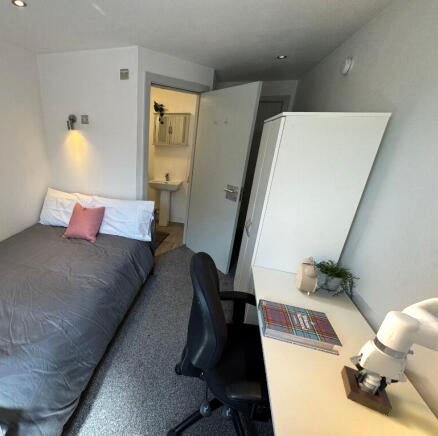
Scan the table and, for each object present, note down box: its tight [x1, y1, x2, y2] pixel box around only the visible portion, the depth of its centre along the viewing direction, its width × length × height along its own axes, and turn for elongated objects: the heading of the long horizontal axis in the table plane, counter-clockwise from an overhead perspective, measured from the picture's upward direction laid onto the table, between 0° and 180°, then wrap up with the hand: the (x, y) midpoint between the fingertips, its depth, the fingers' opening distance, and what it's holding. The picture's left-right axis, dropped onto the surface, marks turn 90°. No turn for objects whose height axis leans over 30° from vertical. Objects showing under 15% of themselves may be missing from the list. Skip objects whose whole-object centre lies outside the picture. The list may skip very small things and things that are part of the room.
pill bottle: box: [357, 371, 382, 395], centre depth 81 cm, size 5×5×8 cm
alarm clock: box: [295, 255, 321, 296], centre depth 134 cm, size 16×9×22 cm, turn 155°
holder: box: [340, 364, 393, 417], centre depth 83 cm, size 11×11×4 cm
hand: (369, 383), depth 82 cm, fingers closed on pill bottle, 4 cm apart
